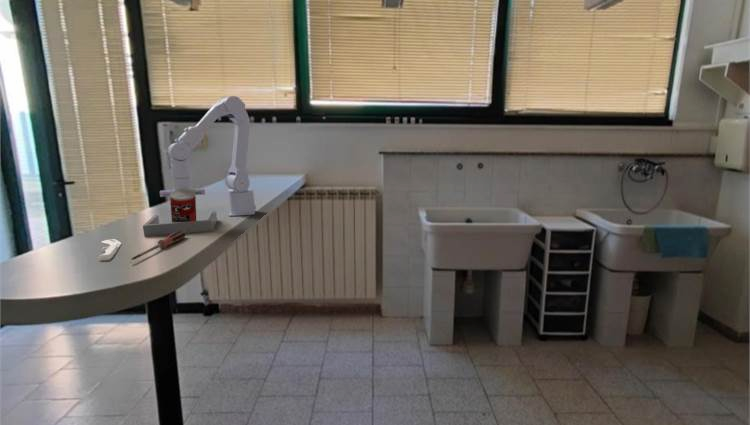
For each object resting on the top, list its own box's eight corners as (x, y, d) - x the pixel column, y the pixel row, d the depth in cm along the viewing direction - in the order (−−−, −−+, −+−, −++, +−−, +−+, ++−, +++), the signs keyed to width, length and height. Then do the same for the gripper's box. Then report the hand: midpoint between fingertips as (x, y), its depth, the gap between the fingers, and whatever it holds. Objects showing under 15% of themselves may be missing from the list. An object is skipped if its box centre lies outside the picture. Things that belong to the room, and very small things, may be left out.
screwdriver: (137, 265, 104) (135, 254, 103) (126, 265, 104) (124, 254, 104) (189, 237, 128) (187, 228, 127) (180, 237, 128) (179, 228, 128)
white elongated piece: (101, 234, 132) (128, 231, 134) (102, 239, 132) (129, 236, 135) (75, 258, 104) (110, 254, 107) (76, 265, 105) (111, 260, 108)
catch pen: (217, 220, 149) (216, 210, 148) (212, 230, 135) (211, 220, 134) (155, 224, 144) (154, 215, 143) (144, 236, 130) (142, 225, 129)
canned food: (167, 225, 139) (164, 195, 135) (181, 215, 146) (179, 187, 142) (187, 229, 138) (186, 200, 134) (200, 220, 146) (199, 192, 141)
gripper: (204, 175, 149) (208, 211, 152) (161, 177, 145) (165, 214, 148) (202, 177, 142) (205, 215, 145) (156, 179, 139) (161, 218, 142)
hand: (185, 215), depth 146 cm, fingers closed, pressing on canned food
